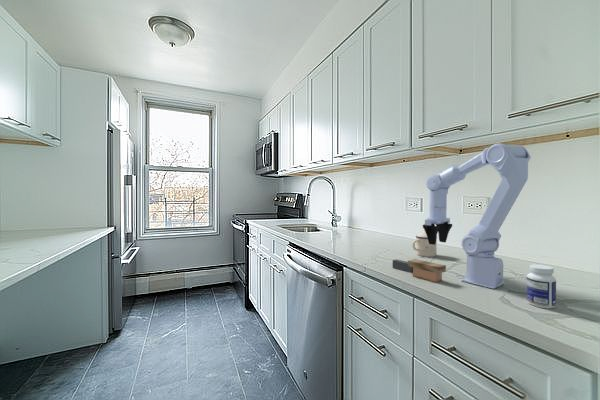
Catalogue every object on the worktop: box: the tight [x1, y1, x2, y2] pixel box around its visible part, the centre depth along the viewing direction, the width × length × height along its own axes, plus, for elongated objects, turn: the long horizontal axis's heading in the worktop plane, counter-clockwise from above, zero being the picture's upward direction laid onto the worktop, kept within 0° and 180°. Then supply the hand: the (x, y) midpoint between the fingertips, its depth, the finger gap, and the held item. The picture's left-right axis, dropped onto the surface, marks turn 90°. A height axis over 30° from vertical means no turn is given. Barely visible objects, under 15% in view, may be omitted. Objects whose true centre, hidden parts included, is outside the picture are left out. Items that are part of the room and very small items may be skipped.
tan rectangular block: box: [412, 268, 443, 284], centre depth 93 cm, size 8×4×3 cm, turn 36°
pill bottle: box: [526, 264, 557, 310], centre depth 71 cm, size 6×6×10 cm
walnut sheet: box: [407, 258, 447, 274], centre depth 93 cm, size 11×4×2 cm, turn 36°
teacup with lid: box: [411, 230, 438, 258], centre depth 128 cm, size 12×9×12 cm
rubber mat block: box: [392, 259, 413, 274], centre depth 104 cm, size 8×2×3 cm, turn 36°
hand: (437, 243), depth 104 cm, fingers open, 7 cm apart
